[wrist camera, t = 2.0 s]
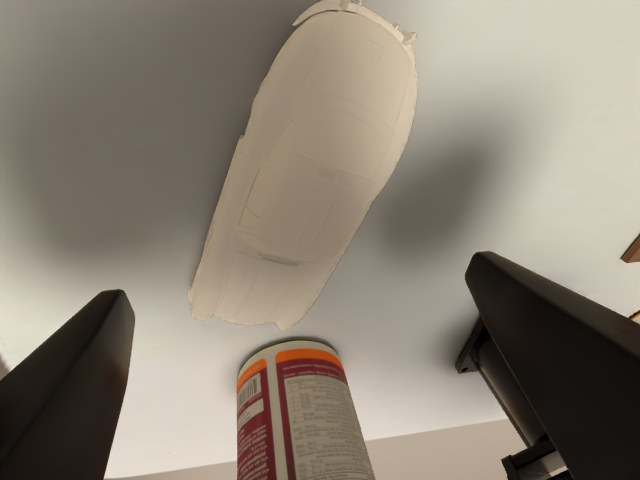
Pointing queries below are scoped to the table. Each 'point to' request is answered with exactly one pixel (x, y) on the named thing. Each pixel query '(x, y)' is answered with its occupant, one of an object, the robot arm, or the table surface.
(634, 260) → the cork mat
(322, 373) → the pill bottle
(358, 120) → the toy car
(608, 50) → the table surface
